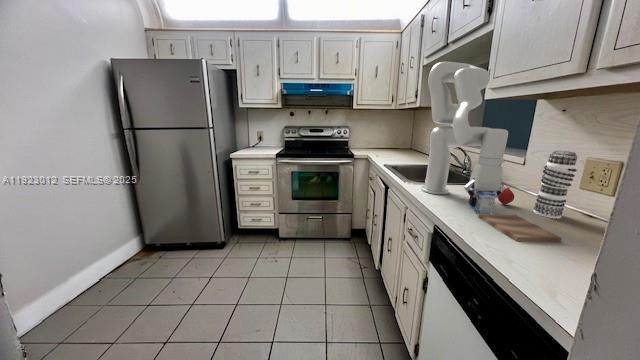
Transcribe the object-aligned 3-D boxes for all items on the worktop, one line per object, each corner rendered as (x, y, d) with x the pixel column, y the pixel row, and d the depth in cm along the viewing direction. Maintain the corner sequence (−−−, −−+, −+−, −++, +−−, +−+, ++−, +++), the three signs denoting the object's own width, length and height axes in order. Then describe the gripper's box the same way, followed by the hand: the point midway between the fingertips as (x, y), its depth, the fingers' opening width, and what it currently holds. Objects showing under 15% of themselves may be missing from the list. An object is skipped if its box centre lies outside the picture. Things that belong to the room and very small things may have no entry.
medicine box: (468, 207, 105) (472, 187, 102) (479, 207, 104) (483, 187, 102) (479, 214, 97) (484, 193, 95) (491, 215, 97) (496, 193, 95)
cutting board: (478, 217, 94) (479, 213, 93) (514, 218, 94) (515, 214, 94) (516, 241, 76) (517, 237, 76) (560, 242, 77) (562, 237, 76)
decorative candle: (555, 212, 102) (573, 150, 96) (567, 220, 94) (588, 154, 87) (528, 208, 105) (543, 149, 99) (537, 216, 97) (555, 152, 91)
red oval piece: (496, 205, 108) (500, 187, 106) (494, 201, 113) (498, 184, 111) (513, 208, 105) (517, 189, 103) (510, 204, 110) (514, 186, 108)
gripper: (504, 160, 99) (495, 203, 104) (461, 159, 99) (454, 202, 103) (519, 164, 92) (508, 210, 97) (473, 163, 92) (464, 209, 96)
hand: (480, 205), depth 100 cm, fingers open, 6 cm apart
